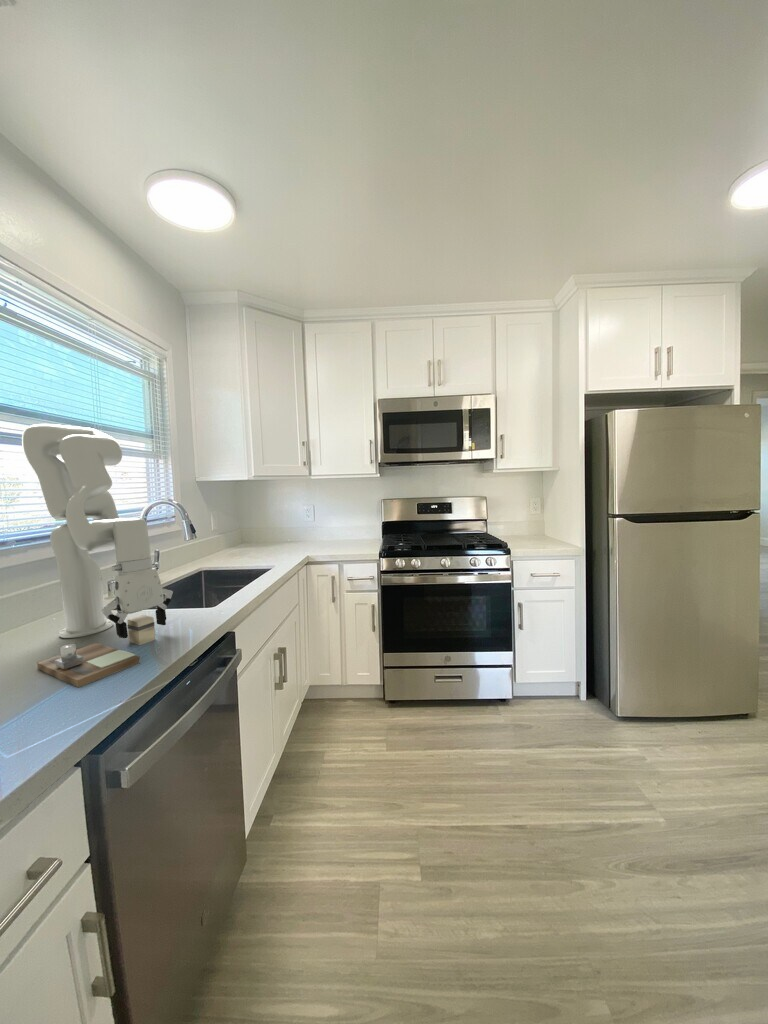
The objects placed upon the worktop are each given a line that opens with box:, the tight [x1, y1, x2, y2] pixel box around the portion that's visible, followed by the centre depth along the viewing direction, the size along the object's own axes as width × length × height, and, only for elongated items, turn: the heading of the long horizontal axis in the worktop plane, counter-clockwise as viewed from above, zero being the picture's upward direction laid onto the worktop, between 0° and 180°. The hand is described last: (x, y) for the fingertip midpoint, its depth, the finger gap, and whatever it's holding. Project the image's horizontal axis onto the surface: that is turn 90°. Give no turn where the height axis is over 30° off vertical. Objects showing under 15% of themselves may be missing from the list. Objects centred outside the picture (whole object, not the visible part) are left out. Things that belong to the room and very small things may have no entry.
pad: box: [86, 649, 137, 668], centre depth 90 cm, size 7×7×1 cm
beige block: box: [126, 614, 156, 646], centre depth 104 cm, size 5×4×6 cm
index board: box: [36, 642, 141, 688], centre depth 90 cm, size 20×12×2 cm, turn 59°
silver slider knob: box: [55, 643, 84, 670], centre depth 87 cm, size 4×4×4 cm
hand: (143, 630), depth 104 cm, fingers open, 9 cm apart
